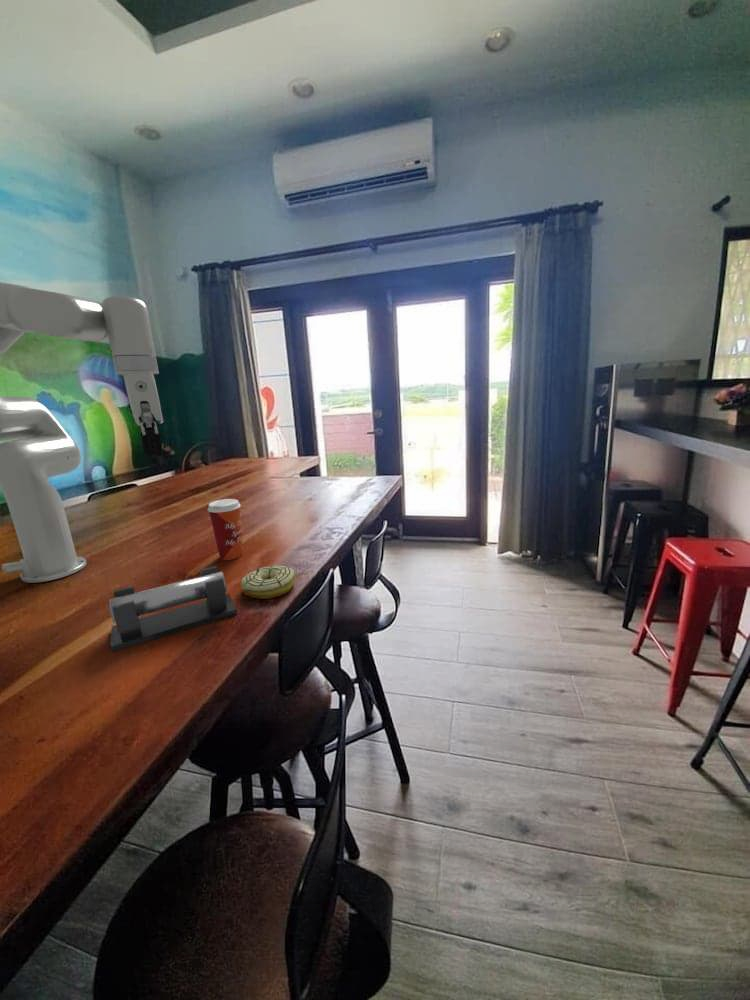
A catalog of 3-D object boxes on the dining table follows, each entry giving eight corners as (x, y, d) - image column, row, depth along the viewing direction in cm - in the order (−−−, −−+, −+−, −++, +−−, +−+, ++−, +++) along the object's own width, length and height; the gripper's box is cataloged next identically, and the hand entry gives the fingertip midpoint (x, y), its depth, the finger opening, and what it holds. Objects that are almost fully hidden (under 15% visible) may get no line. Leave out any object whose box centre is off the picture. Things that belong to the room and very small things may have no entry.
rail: (114, 627, 67) (108, 606, 65) (114, 614, 70) (109, 595, 69) (227, 596, 75) (224, 577, 74) (223, 586, 79) (220, 567, 77)
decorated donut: (253, 578, 90) (251, 562, 89) (301, 577, 89) (299, 561, 88) (235, 602, 80) (232, 584, 79) (288, 602, 79) (286, 584, 78)
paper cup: (237, 562, 98) (229, 507, 94) (209, 561, 100) (199, 506, 96) (253, 550, 105) (246, 498, 102) (226, 548, 107) (218, 497, 103)
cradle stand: (111, 652, 66) (101, 611, 64) (113, 631, 72) (103, 593, 70) (237, 614, 75) (231, 577, 73) (229, 598, 81) (224, 564, 79)
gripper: (160, 363, 75) (176, 455, 80) (155, 368, 90) (169, 446, 94) (113, 364, 72) (133, 460, 76) (115, 369, 86) (132, 449, 91)
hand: (153, 452), depth 85 cm, fingers open, 9 cm apart
